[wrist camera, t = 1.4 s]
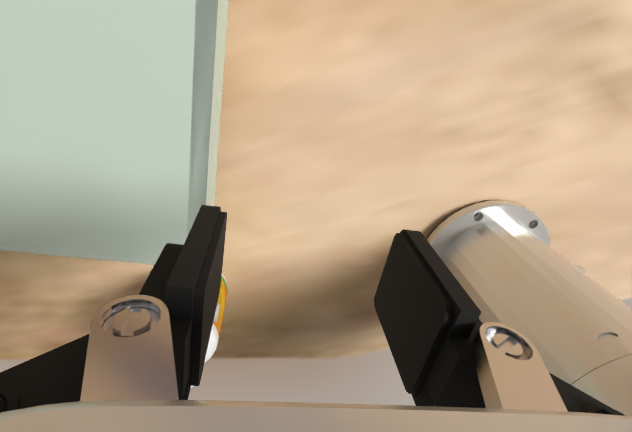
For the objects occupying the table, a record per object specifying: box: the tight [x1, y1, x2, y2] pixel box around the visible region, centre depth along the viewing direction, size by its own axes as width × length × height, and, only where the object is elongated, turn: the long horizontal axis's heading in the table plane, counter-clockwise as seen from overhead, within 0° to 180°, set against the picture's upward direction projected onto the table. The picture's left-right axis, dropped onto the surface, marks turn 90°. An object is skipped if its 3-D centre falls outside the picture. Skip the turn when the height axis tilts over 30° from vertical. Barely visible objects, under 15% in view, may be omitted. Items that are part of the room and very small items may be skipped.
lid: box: [0, 0, 229, 265], centre depth 20 cm, size 16×16×4 cm
